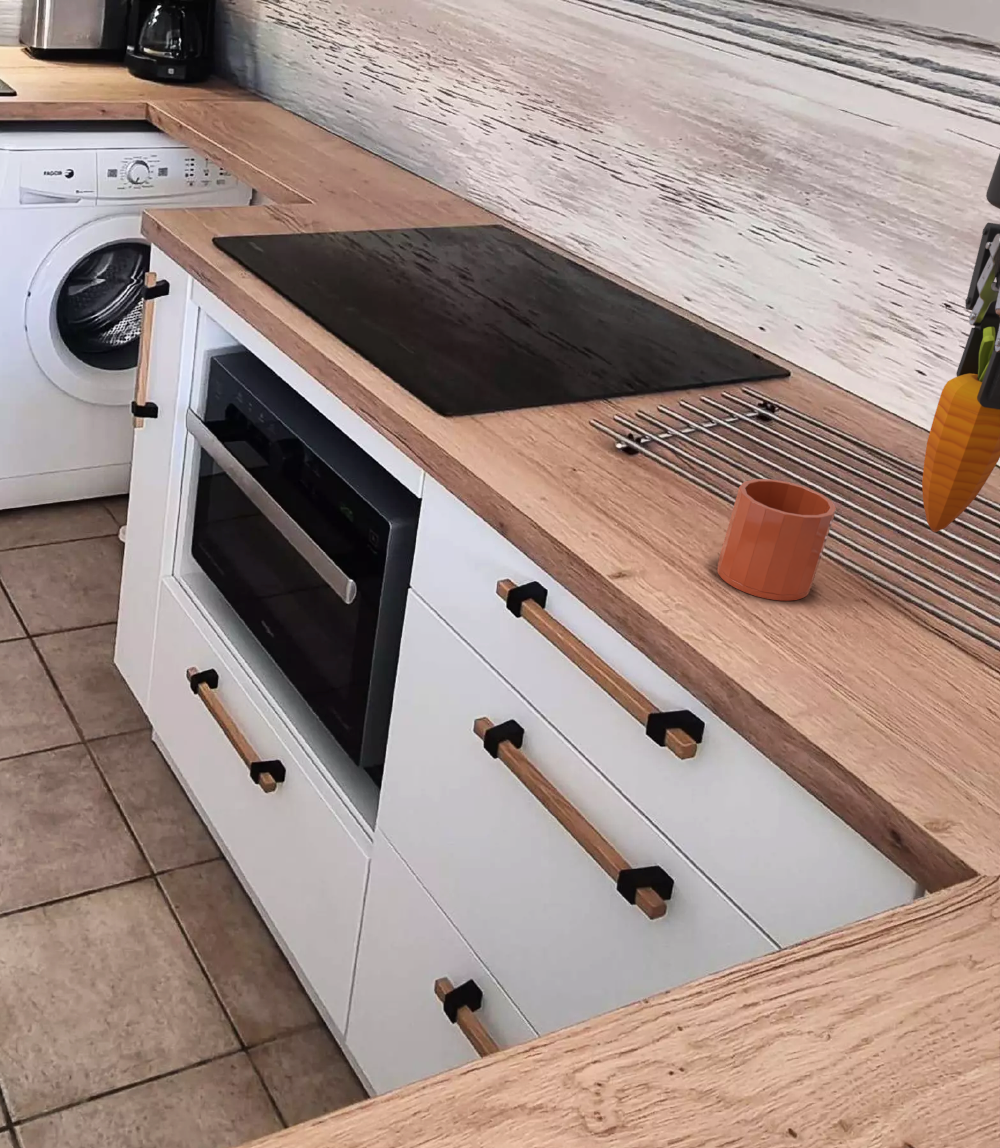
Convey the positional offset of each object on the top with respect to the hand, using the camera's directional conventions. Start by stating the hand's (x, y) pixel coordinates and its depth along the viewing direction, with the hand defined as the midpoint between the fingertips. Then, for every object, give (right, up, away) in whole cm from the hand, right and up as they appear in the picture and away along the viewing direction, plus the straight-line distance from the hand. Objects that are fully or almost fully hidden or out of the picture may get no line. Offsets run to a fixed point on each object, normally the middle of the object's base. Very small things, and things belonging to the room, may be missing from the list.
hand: (982, 393), depth 102 cm
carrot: (-1, -9, +5) cm, 11 cm away
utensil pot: (-4, -13, +32) cm, 34 cm away
